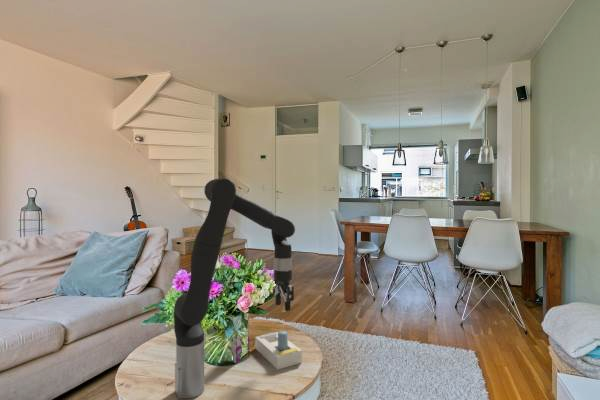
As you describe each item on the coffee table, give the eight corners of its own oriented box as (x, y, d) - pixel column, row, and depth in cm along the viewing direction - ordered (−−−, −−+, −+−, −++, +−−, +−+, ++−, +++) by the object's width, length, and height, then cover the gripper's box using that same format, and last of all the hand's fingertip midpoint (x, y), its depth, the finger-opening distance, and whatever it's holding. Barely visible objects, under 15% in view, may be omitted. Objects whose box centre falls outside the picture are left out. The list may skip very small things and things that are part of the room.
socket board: (277, 369, 131) (277, 356, 131) (255, 348, 150) (255, 336, 150) (301, 362, 137) (301, 349, 137) (277, 342, 156) (277, 331, 156)
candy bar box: (239, 350, 148) (239, 313, 148) (249, 352, 146) (249, 314, 146) (225, 362, 137) (225, 321, 137) (236, 364, 136) (236, 323, 136)
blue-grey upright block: (280, 360, 136) (280, 335, 136) (276, 356, 140) (276, 332, 140) (289, 358, 138) (289, 333, 138) (284, 354, 142) (284, 330, 142)
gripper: (267, 266, 143) (267, 304, 143) (282, 272, 131) (282, 314, 131) (283, 264, 147) (282, 301, 147) (299, 270, 135) (299, 311, 135)
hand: (282, 307), depth 139 cm, fingers open, 8 cm apart
